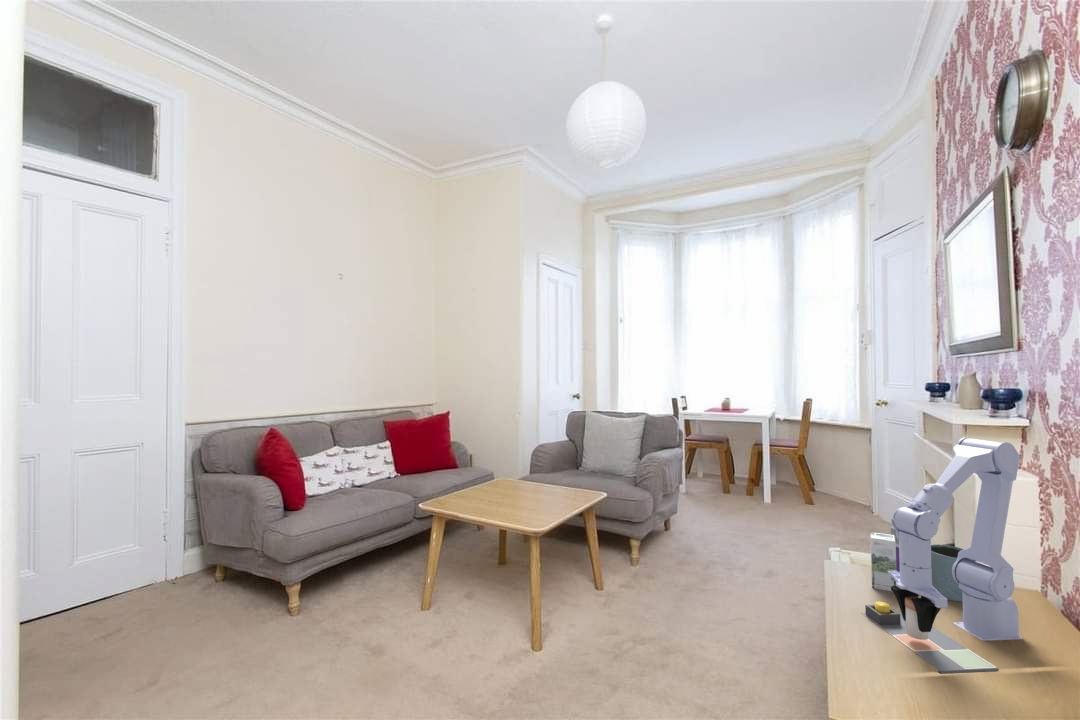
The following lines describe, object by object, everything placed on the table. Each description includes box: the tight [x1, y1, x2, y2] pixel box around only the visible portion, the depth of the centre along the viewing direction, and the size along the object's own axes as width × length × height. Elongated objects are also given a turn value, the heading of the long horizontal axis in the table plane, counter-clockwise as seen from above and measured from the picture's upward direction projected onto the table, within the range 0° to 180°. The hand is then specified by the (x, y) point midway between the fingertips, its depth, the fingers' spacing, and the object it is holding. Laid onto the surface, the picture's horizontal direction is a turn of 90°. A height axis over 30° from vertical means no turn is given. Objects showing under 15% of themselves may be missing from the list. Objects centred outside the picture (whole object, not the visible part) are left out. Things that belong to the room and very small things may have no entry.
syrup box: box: [869, 531, 897, 592], centre depth 141 cm, size 6×6×14 cm
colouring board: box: [860, 610, 999, 675], centre depth 115 cm, size 12×24×1 cm, turn 2°
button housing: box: [864, 604, 901, 625], centre depth 123 cm, size 5×5×2 cm
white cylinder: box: [905, 596, 928, 640], centre depth 113 cm, size 4×4×8 cm
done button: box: [874, 601, 891, 613], centre depth 123 cm, size 3×3×3 cm
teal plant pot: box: [931, 543, 965, 603], centre depth 136 cm, size 10×10×12 cm
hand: (916, 625), depth 113 cm, fingers closed on white cylinder, 4 cm apart
